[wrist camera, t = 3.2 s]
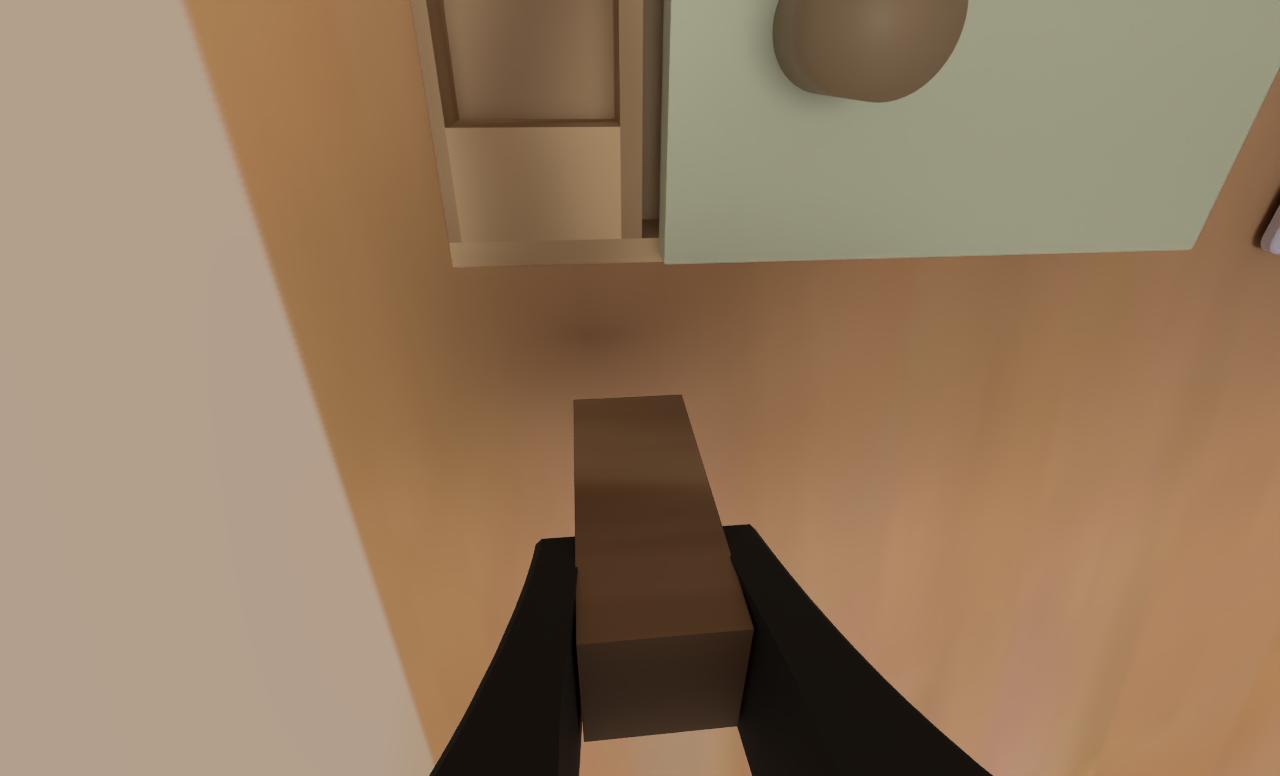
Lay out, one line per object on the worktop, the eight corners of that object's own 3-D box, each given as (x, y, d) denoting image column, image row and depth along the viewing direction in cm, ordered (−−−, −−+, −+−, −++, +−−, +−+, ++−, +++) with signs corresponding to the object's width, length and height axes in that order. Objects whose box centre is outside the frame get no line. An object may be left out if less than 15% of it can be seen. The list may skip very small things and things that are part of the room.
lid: (1382, -263, 11) (1695, -387, 8) (1156, 239, 15) (1298, 283, 12) (670, -309, 10) (716, -476, 7) (658, 251, 14) (682, 304, 11)
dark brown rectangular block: (677, 477, 14) (737, 726, 9) (579, 483, 14) (583, 742, 9) (681, 394, 13) (754, 629, 8) (573, 400, 13) (576, 644, 8)
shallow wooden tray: (1291, -224, 13) (1433, -279, 11) (1111, 224, 18) (1184, 247, 16) (395, -274, 11) (354, -351, 9) (468, 239, 16) (452, 267, 14)
